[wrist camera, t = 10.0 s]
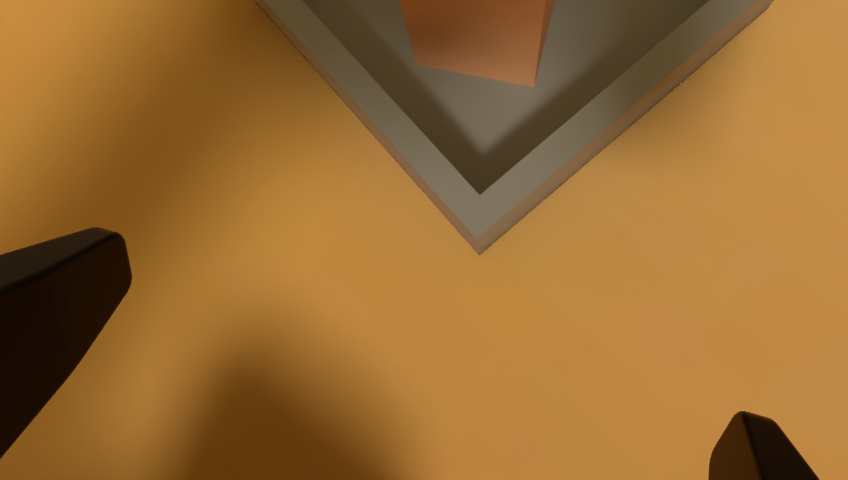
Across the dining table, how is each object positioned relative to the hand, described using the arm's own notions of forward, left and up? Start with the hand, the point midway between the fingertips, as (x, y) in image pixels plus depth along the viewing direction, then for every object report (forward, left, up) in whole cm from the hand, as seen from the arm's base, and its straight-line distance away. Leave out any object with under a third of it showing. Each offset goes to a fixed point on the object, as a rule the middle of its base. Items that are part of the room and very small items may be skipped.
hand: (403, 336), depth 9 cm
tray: (+10, +9, -14) cm, 19 cm away
